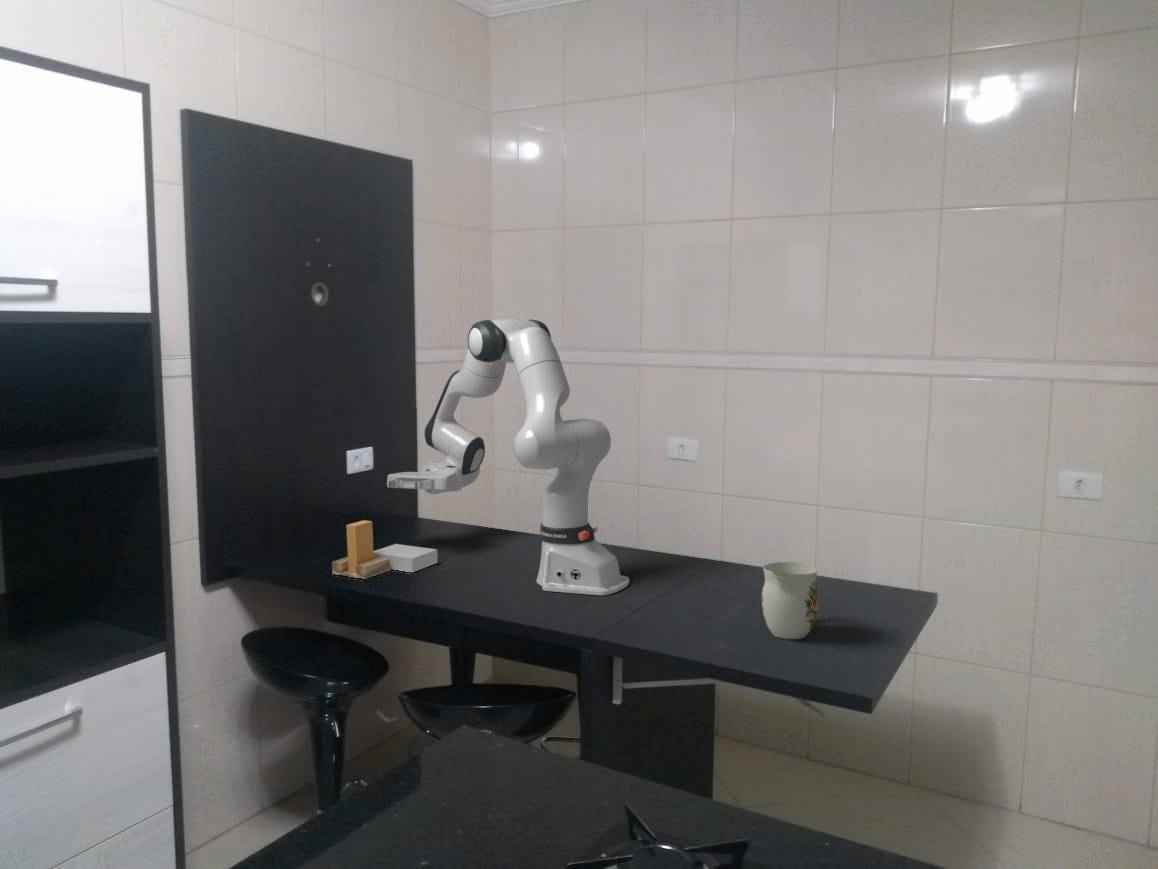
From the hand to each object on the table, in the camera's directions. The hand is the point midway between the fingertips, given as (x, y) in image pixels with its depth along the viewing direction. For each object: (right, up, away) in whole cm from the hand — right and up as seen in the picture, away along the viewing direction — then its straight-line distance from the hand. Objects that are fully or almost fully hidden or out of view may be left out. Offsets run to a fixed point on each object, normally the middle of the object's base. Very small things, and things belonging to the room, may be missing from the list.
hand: (402, 485), depth 230 cm
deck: (+1, -21, -2) cm, 21 cm away
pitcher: (+88, -26, -56) cm, 108 cm away
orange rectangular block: (-9, -21, -8) cm, 24 cm away
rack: (-9, -22, -8) cm, 25 cm away
